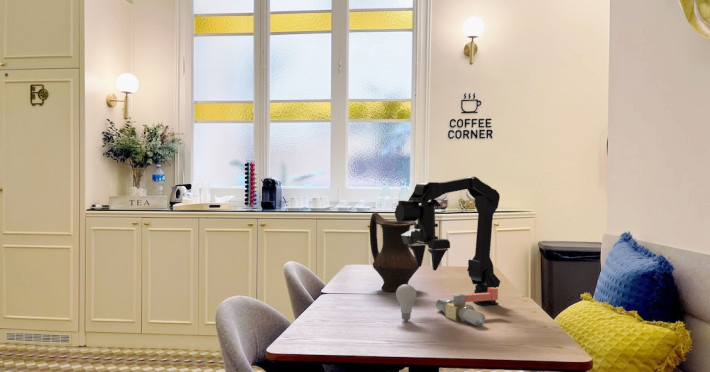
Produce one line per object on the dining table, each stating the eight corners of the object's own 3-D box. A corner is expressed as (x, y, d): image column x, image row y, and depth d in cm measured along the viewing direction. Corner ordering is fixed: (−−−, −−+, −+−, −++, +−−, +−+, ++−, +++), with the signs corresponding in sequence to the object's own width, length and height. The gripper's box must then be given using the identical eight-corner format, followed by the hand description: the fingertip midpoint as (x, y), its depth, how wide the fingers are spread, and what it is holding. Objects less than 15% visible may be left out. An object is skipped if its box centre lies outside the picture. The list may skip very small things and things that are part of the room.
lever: (492, 300, 177) (492, 286, 177) (498, 302, 173) (498, 288, 173) (451, 303, 171) (451, 289, 171) (457, 305, 168) (457, 291, 168)
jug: (428, 288, 221) (428, 213, 221) (406, 296, 205) (407, 214, 205) (381, 283, 232) (382, 211, 232) (358, 290, 216) (358, 213, 216)
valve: (449, 311, 182) (449, 295, 182) (488, 327, 161) (488, 309, 161) (433, 313, 180) (433, 297, 180) (470, 329, 159) (470, 311, 159)
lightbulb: (418, 319, 168) (418, 283, 168) (413, 324, 162) (413, 286, 162) (398, 318, 170) (398, 282, 170) (393, 322, 164) (393, 285, 164)
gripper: (390, 220, 187) (391, 266, 187) (420, 223, 170) (421, 274, 170) (419, 218, 191) (419, 264, 191) (450, 221, 175) (451, 271, 175)
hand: (426, 268), depth 182 cm, fingers open, 9 cm apart
